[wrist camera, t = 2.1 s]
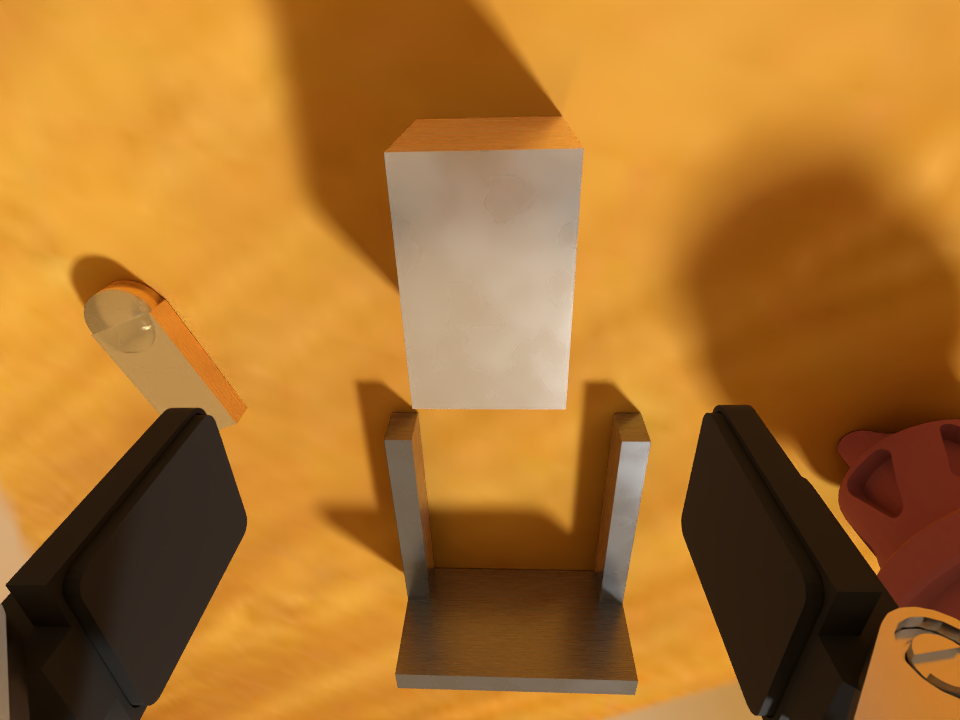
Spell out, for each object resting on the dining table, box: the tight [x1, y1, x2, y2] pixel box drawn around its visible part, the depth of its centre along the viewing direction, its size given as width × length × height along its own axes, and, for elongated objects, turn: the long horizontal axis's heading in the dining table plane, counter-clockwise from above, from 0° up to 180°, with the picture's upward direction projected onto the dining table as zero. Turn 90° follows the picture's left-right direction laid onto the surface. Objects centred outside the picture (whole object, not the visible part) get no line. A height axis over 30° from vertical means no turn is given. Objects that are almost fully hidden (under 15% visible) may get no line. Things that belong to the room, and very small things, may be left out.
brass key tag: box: [84, 280, 247, 430], centre depth 24 cm, size 7×3×1 cm, turn 22°
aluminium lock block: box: [384, 116, 583, 409], centre depth 18 cm, size 9×5×6 cm, turn 1°
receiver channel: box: [384, 412, 651, 695], centre depth 26 cm, size 12×11×6 cm
